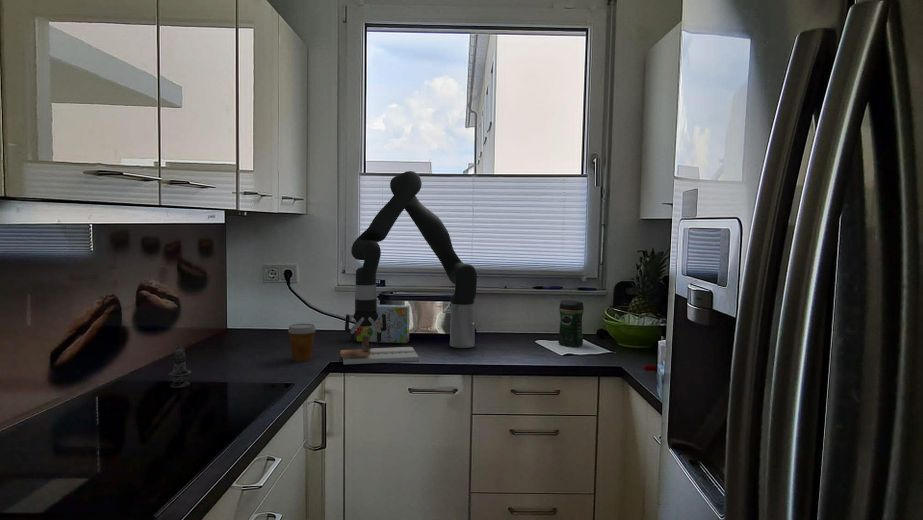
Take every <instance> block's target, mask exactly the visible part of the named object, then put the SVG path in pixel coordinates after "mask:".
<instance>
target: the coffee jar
mask: <svg viewBox="0 0 923 520" xmlns="http://www.w3.org/2000/svg"><path fill="white" fill-rule="evenodd" d="M558 310H559V311H558V312H559V317H560V319H559V320H560V321H559V331H558V332H559V333H558V340H557V341H558V342H557V343H558V344H559V345H561V346H564V345H565V346H566V347H570V346H571V347H578V348H579V347H581V346H583V342H584V336H583V319H582V318H583V314H584V311H585V310H584V303H583V302H582V301H579V300H573V299H565V300H561V301H560V302H559V309H558Z"/></svg>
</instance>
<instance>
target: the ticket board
mask: <svg viewBox="0 0 923 520" xmlns="http://www.w3.org/2000/svg"><path fill="white" fill-rule="evenodd" d="M369 350H370V356H347V357H342V362H343V365H358V364H359V365H360V364H361V365H363V364H382V363H384V364H385V363H403V362H404V363H405V362H419V360H420V357H419V355H418V353H417V352H416V351H415V349H414V347H412V346H401V347H398V346H397V347H375V348H370V349H369Z"/></svg>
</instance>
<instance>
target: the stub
mask: <svg viewBox="0 0 923 520" xmlns="http://www.w3.org/2000/svg"><path fill="white" fill-rule="evenodd" d="M369 343H370V342H369V336H368V334H366V335H362V342H361V349H341V350H339V351H340V353H339V356H340V358H343V357H347V356H370V349H369V346H370V344H369Z"/></svg>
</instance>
